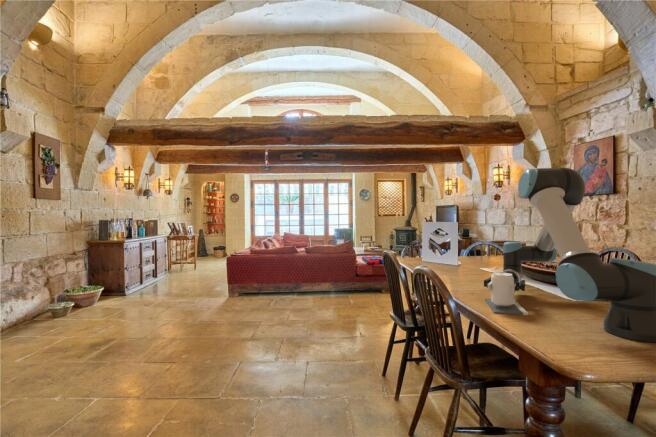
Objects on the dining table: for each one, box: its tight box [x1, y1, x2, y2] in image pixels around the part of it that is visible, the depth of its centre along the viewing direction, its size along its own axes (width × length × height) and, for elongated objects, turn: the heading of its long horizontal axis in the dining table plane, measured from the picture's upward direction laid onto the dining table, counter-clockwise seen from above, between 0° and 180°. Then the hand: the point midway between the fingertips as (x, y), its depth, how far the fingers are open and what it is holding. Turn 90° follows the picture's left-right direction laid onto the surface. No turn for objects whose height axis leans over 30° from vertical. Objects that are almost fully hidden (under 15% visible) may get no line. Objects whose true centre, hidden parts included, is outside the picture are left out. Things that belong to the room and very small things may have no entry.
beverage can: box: [490, 271, 515, 306], centre depth 133 cm, size 8×8×12 cm
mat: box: [484, 298, 529, 316], centre depth 136 cm, size 20×12×1 cm, turn 164°
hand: (500, 289), depth 129 cm, fingers closed on beverage can, 8 cm apart
